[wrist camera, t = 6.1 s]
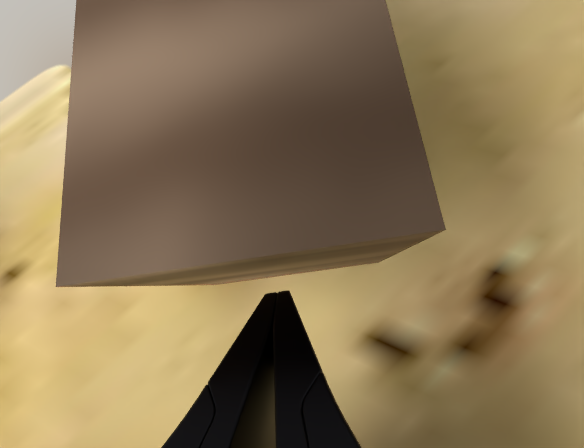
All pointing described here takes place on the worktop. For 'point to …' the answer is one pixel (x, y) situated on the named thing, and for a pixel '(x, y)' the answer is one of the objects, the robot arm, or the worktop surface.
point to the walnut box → (237, 142)
